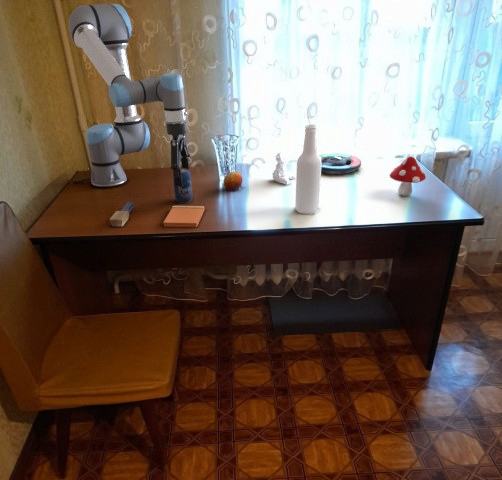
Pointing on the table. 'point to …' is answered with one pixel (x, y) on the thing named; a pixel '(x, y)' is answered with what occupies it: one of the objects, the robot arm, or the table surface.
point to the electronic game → (339, 163)
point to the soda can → (184, 187)
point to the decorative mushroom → (407, 175)
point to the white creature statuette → (281, 170)
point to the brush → (121, 215)
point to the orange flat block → (184, 216)
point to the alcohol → (308, 174)
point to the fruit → (233, 181)
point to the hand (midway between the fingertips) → (182, 180)
